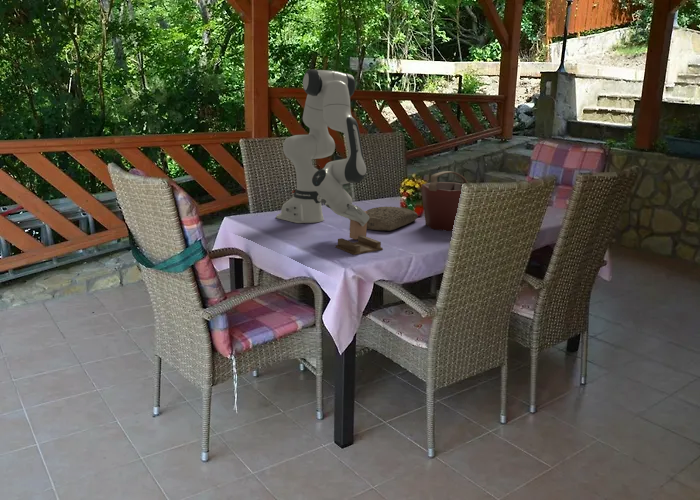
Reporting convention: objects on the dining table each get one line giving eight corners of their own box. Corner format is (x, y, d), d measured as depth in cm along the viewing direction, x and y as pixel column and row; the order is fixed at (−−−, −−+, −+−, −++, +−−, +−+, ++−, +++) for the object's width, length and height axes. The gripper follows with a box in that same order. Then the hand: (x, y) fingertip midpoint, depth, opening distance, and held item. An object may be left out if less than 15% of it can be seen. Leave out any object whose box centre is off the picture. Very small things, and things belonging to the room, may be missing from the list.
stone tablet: (380, 216, 306) (349, 227, 281) (381, 199, 304) (350, 209, 279) (418, 222, 297) (390, 234, 272) (420, 205, 294) (391, 216, 269)
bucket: (433, 234, 273) (437, 176, 267) (408, 222, 293) (411, 169, 286) (480, 229, 284) (485, 174, 277) (452, 219, 303) (456, 167, 296)
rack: (353, 254, 239) (353, 246, 238) (335, 247, 248) (335, 239, 247) (382, 249, 247) (382, 241, 246) (363, 242, 256) (364, 234, 255)
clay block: (354, 239, 258) (355, 213, 255) (349, 237, 260) (350, 211, 257) (366, 237, 261) (367, 211, 258) (361, 235, 264) (362, 210, 261)
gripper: (361, 201, 244) (379, 223, 252) (331, 191, 260) (349, 212, 268) (351, 213, 242) (370, 235, 251) (322, 203, 258) (341, 224, 267)
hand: (359, 223), depth 260 cm, fingers closed on clay block, 3 cm apart
